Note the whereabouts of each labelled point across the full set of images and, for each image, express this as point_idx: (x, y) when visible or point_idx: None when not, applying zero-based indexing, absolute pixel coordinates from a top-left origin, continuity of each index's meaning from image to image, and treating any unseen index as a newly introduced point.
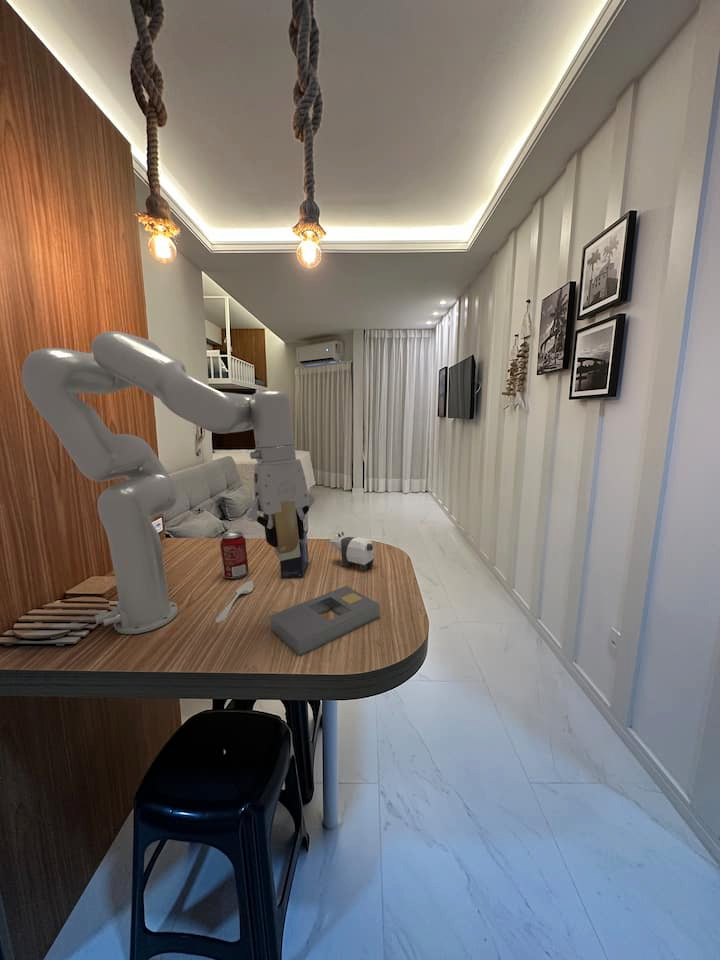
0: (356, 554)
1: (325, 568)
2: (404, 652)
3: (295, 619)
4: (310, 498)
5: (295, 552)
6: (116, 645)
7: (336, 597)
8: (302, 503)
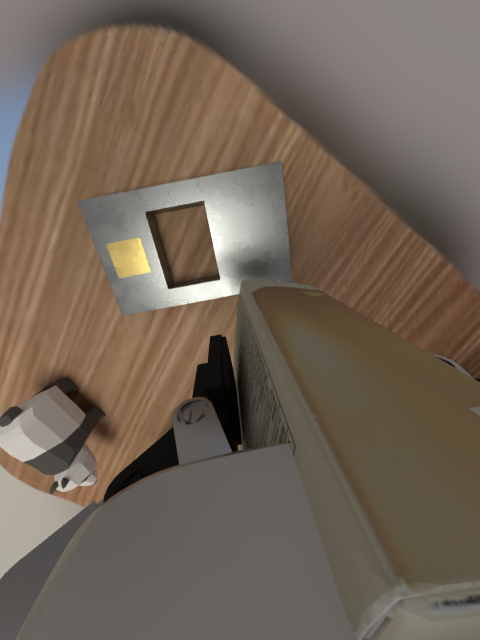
0: (56, 412)
1: (135, 421)
2: (91, 42)
3: (257, 244)
4: (17, 631)
5: (262, 283)
6: (464, 351)
7: (157, 280)
8: (172, 511)
